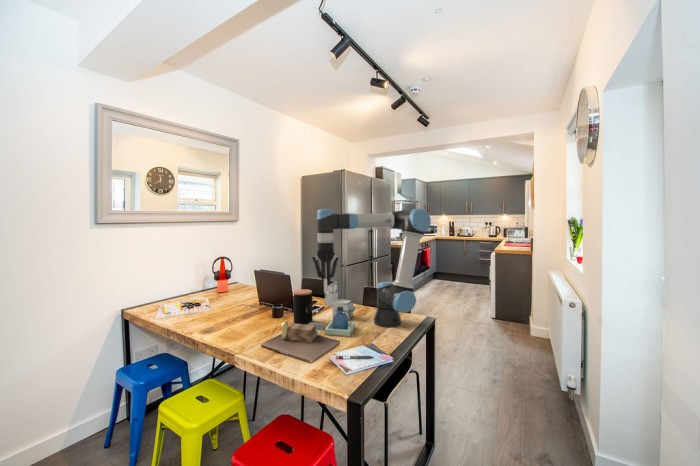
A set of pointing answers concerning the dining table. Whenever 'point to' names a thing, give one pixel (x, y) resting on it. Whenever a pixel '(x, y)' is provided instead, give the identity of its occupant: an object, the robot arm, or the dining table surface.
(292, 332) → the brown wooden block
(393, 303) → the robot arm
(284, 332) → the bench dog
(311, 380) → the dining table surface
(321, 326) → the slot block
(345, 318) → the perfume bottle
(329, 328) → the tray
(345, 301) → the toy llama
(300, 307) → the coffee jar
